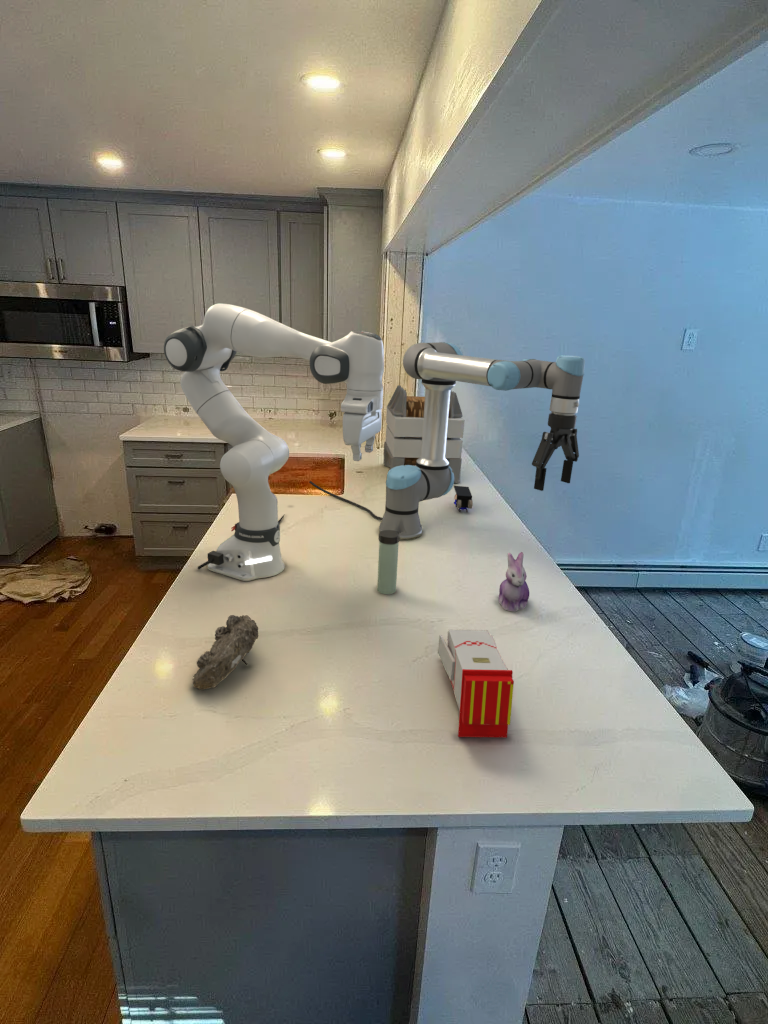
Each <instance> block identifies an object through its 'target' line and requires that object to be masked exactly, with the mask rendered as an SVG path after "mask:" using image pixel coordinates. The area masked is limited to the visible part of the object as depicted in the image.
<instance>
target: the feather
mask: <svg viewBox="0 0 768 1024" xmlns="http://www.w3.org/2000/svg"><path fill="white" fill-rule="evenodd" d="M285 515H286V514H283V515H282V516H281V518H279V519H278V522H279V525H281V522H282V520H283V519H284V516H285Z"/></svg>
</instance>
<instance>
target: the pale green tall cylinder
mask: <svg viewBox="0 0 768 1024" xmlns="http://www.w3.org/2000/svg"><path fill="white" fill-rule="evenodd" d="M399 543H400V541H399V542H398V543H396V544H384V543H381V542H380V541H379V540H378V559H377V560H378V561H377V563H378V564H377V583H376V584H377V585H376V590H377V592H378V593H379V594H382V595H392V594H393V595H394V594H395V593H396V592H397V580H398V579H397V578H398V576H397V575H398V561H399Z"/></svg>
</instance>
